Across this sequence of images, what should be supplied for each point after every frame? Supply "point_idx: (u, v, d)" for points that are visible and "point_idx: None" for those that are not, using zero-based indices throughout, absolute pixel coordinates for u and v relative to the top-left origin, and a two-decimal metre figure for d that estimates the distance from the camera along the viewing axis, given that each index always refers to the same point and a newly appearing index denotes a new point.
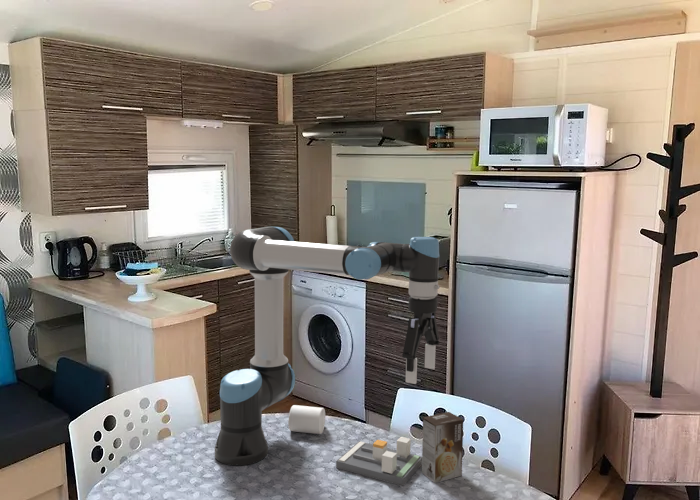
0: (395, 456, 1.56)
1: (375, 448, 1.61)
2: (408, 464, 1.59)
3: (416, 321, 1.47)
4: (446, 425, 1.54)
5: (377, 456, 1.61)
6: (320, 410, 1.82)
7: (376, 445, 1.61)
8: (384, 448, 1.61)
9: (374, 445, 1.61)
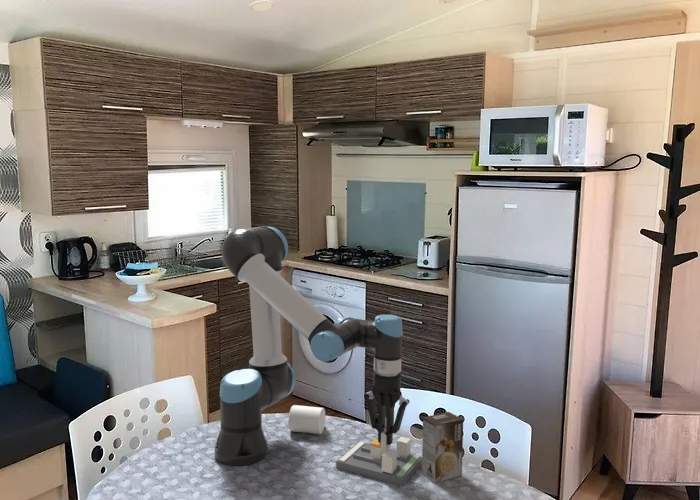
0: (395, 456, 1.56)
1: (373, 447, 1.62)
2: (408, 464, 1.59)
3: None
4: (446, 425, 1.54)
5: (374, 456, 1.62)
6: (320, 410, 1.82)
7: (374, 444, 1.62)
8: None
9: (372, 444, 1.62)
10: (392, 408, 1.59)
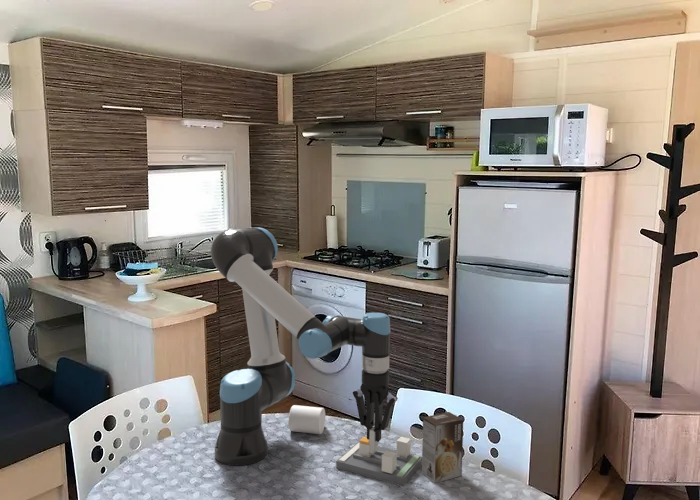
0: (395, 456, 1.56)
1: (362, 445, 1.63)
2: (408, 464, 1.59)
3: None
4: (446, 425, 1.54)
5: (363, 453, 1.63)
6: (320, 410, 1.82)
7: (362, 442, 1.63)
8: None
9: (360, 442, 1.63)
10: (380, 405, 1.61)
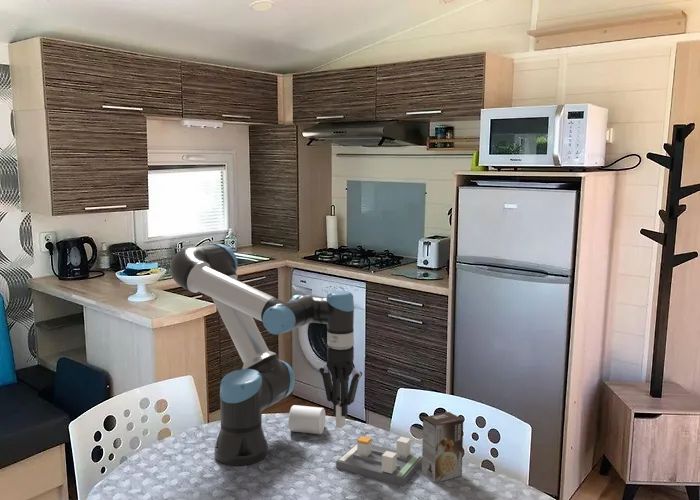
0: (395, 456, 1.56)
1: (359, 444, 1.64)
2: (408, 464, 1.59)
3: None
4: (446, 425, 1.54)
5: (361, 452, 1.64)
6: (320, 410, 1.82)
7: (360, 441, 1.63)
8: (368, 444, 1.64)
9: (358, 441, 1.64)
10: (346, 381, 1.65)
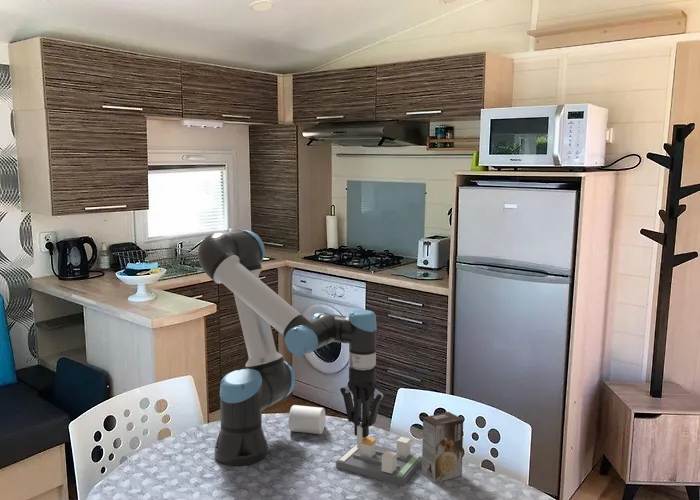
0: (395, 456, 1.56)
1: (364, 445, 1.63)
2: (408, 464, 1.59)
3: None
4: (446, 425, 1.54)
5: (365, 453, 1.63)
6: (320, 410, 1.82)
7: (364, 442, 1.63)
8: (372, 445, 1.63)
9: (362, 442, 1.63)
10: (367, 401, 1.63)
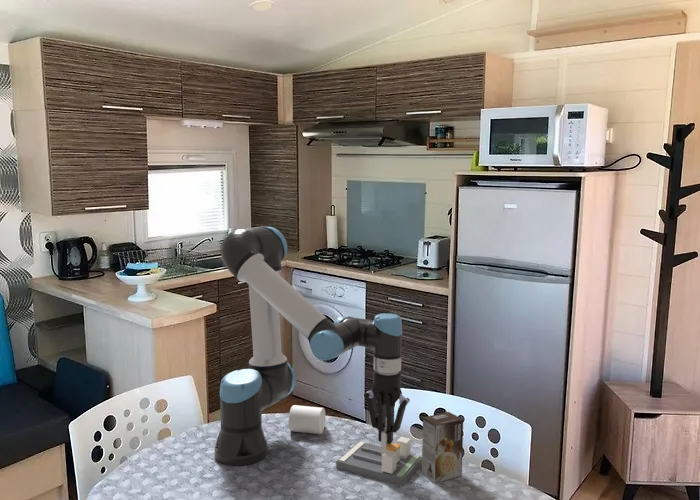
0: (395, 456, 1.56)
1: None
2: (408, 464, 1.59)
3: None
4: (446, 425, 1.54)
5: None
6: (320, 410, 1.82)
7: (389, 448, 1.59)
8: (397, 451, 1.60)
9: (387, 448, 1.60)
10: (392, 407, 1.59)
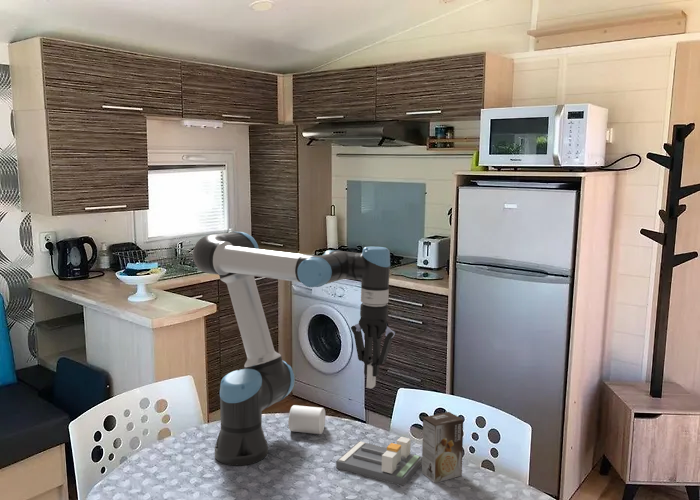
0: (395, 456, 1.56)
1: None
2: (408, 464, 1.59)
3: None
4: (446, 425, 1.54)
5: None
6: (320, 410, 1.82)
7: (390, 448, 1.59)
8: (398, 451, 1.59)
9: (388, 448, 1.60)
10: (379, 340, 1.60)
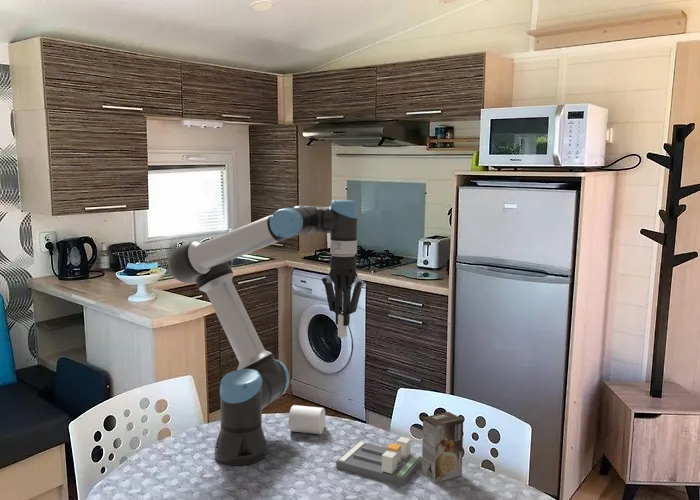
0: (395, 456, 1.56)
1: None
2: (408, 464, 1.59)
3: None
4: (446, 425, 1.54)
5: None
6: (320, 410, 1.82)
7: (390, 448, 1.59)
8: (398, 451, 1.59)
9: (388, 448, 1.60)
10: (348, 290, 1.66)
